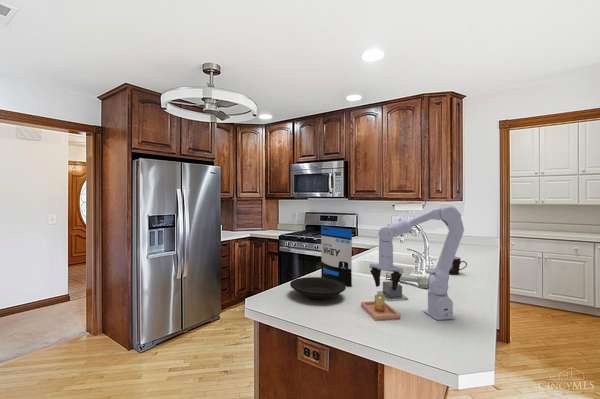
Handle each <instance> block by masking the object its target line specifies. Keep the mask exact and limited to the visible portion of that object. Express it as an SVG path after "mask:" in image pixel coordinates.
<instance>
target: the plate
mask: <svg viewBox="0 0 600 399" xmlns="http://www.w3.org/2000/svg"><path fill="white" fill-rule="evenodd" d="M289 286H290V288H291V289H293V290H295V292H297V293H299V294H301V295H302V296H305V297H306V298H309V299H310V300H317V301H321V300H326V299H328V298H332V297H335V296H337V295H339V294H341V293H342V292H344V291H345V290H346V287H347V286H345V285H344V284H343V283H341V282H339V281H336V280H333V279H327V278H322V277H314V276H313V277H312V276H310V277H299V278H296V279H293V280H291V281H290V283H289Z"/></svg>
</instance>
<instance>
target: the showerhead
mask: <svg viewBox="0 0 600 399" xmlns="http://www.w3.org/2000/svg"><path fill="white" fill-rule="evenodd" d="M434 268H435V267H430V266H427V268H425V270H424V272H425V274H428V275H431V274H432V272H433V270H434Z"/></svg>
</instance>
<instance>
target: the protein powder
mask: <svg viewBox="0 0 600 399" xmlns="http://www.w3.org/2000/svg"><path fill="white" fill-rule="evenodd" d="M320 231H321V232H320V234H321V235H320V238H321V239H320V244H321V245H320V246H321V248H320V249H321V263H320V264H321V270H320V271H321V277H320V278H327V279H333V280H336V281H339V282H341V283H343V284H344V285H345V286H346V287H348V288H349V287H350V288H352V287H353V283H352V282H353V281H352V280H353V276H352V274H353V272H352V270H353V269H352V264H353V263H352V260H353V259H352V258H353V257H352V256H353V253H352V251H353V249H352V248H353V247H352V246H353V245H352V244H353V242H352V241H353V239H352V238H353V236H352V235H353V234H352V232H353V231H352V229H347V228H340V227H339V228H338V227H331V226H325V225H324V226H323V225H321V229H320Z"/></svg>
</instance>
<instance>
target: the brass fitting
mask: <svg viewBox="0 0 600 399" xmlns="http://www.w3.org/2000/svg"><path fill="white" fill-rule="evenodd" d="M374 301H375V311H376V312H380V313H382V312H385V303H386V299H385V296H384V295H379V294H374Z"/></svg>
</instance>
